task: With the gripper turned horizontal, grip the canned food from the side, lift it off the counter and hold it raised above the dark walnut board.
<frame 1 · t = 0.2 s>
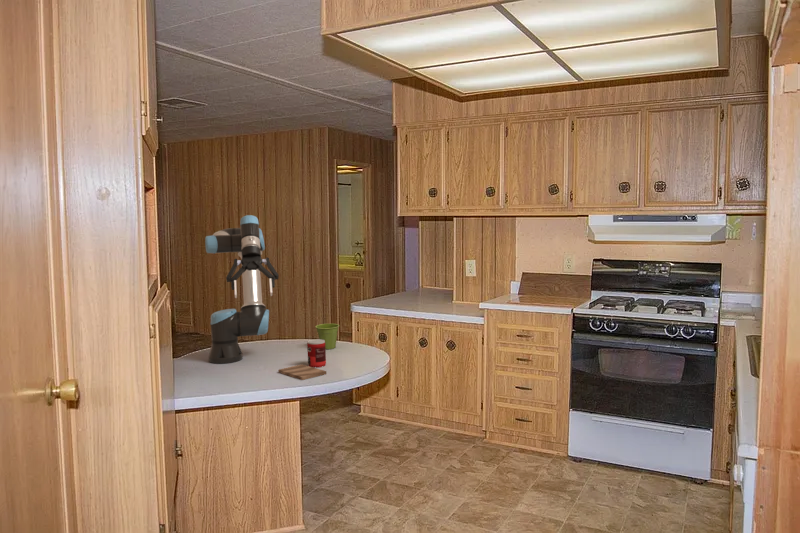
hand: (253, 295, 238), 36 cm above the table, tool tilted 35°, fingers open, 13 cm apart
canned food: (317, 365, 269), on the table
plant pot: (328, 348, 303), on the table
walnut board: (302, 373, 256), on the table
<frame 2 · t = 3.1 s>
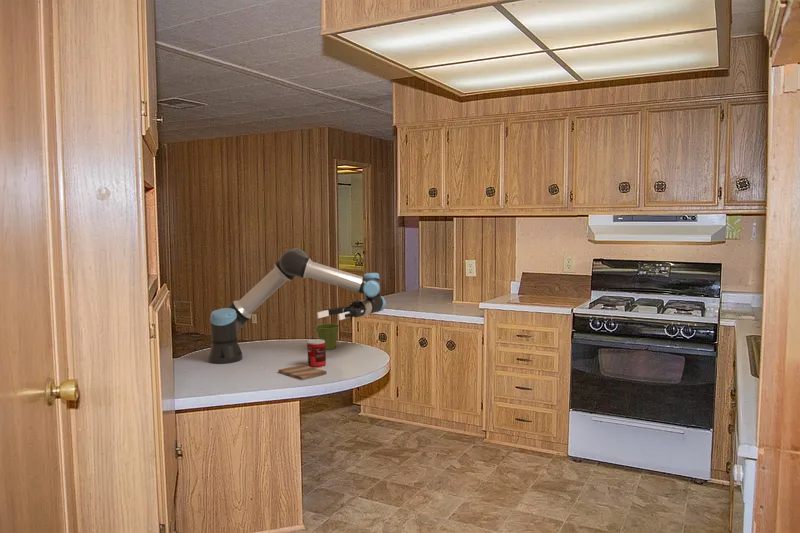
hand: (328, 316, 273), 21 cm above the table, tool horizontal, fingers open, 13 cm apart
nothing on the table moved.
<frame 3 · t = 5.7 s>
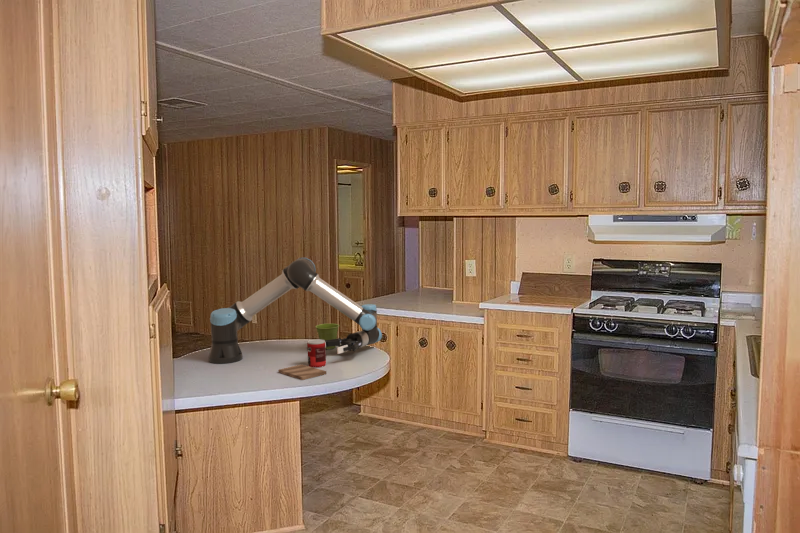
hand: (326, 349, 272), 6 cm above the table, tool horizontal, fingers open, 13 cm apart
nothing on the table moved.
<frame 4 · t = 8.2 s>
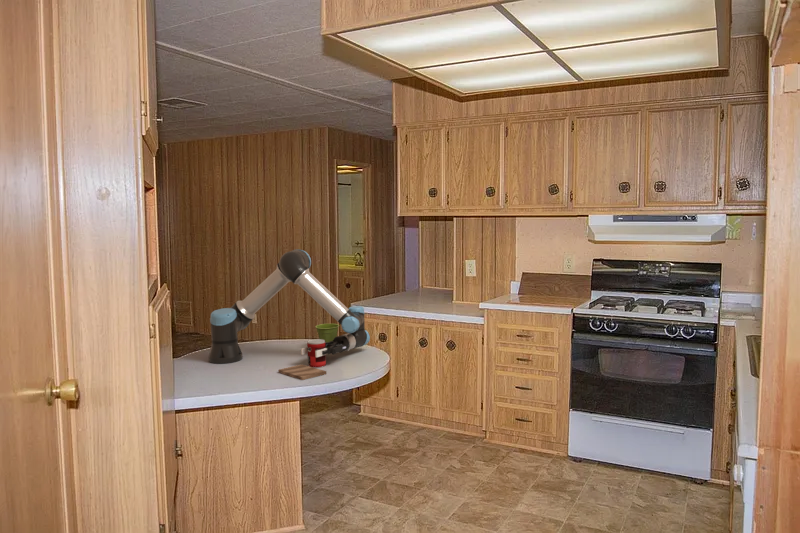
hand: (308, 353, 264), 7 cm above the table, tool horizontal, fingers closed on canned food, 8 cm apart
canned food: (317, 365, 269), on the table, touching gripper
everything else where it was.
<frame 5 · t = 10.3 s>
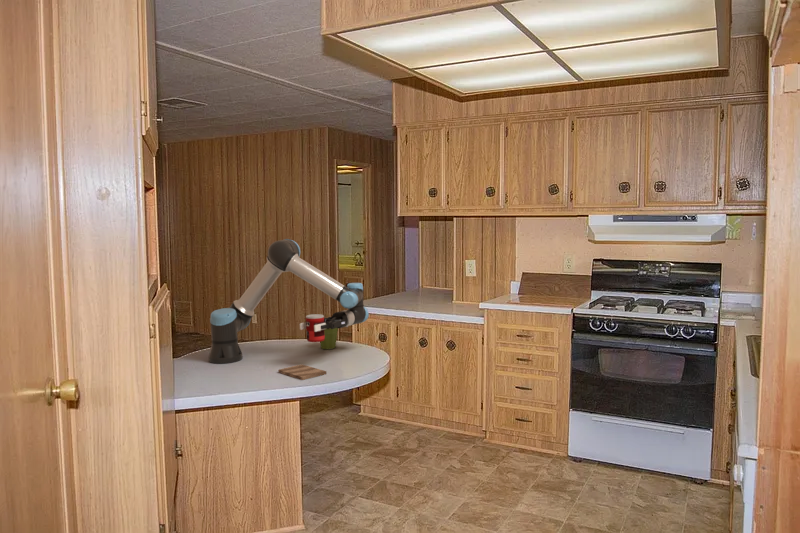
hand: (307, 327, 263), 18 cm above the table, tool horizontal, fingers closed on canned food, 8 cm apart
canned food: (315, 340, 267), point 11 cm above the table, touching gripper
everything else where it was.
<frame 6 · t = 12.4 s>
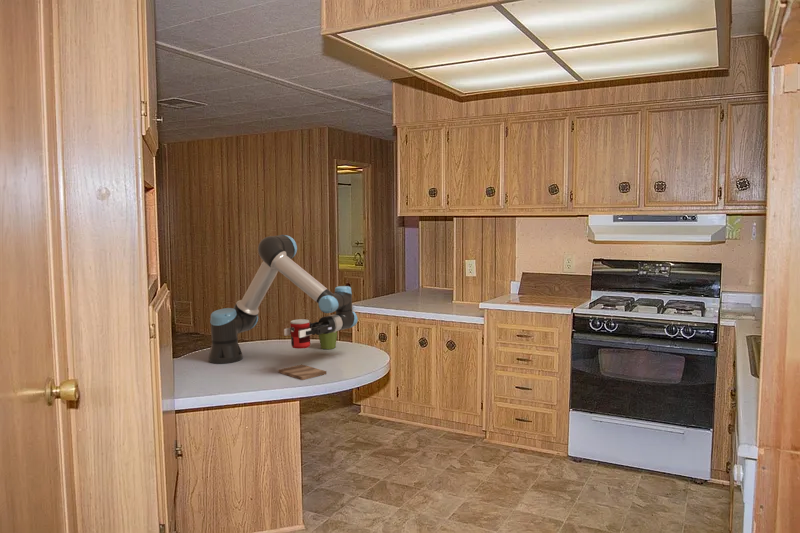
hand: (291, 333, 251), 18 cm above the table, tool horizontal, fingers closed on canned food, 8 cm apart
canned food: (301, 347, 255), point 11 cm above the table, touching gripper
everything else where it was.
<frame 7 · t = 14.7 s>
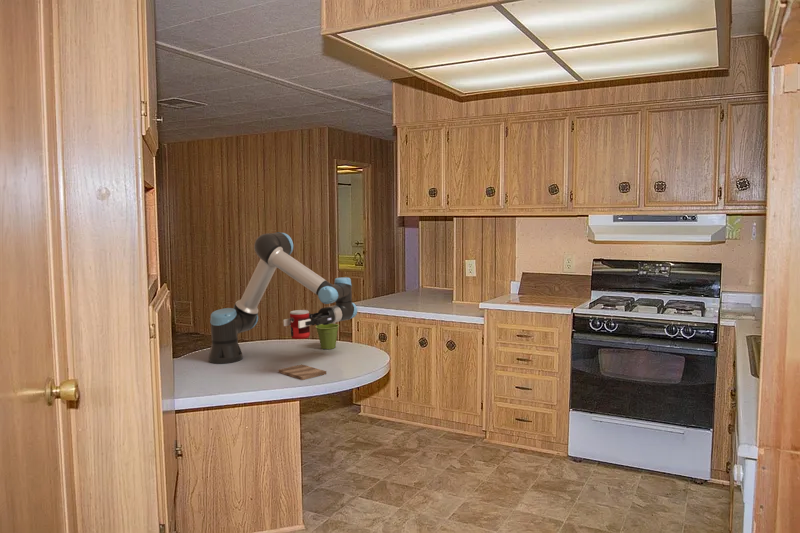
hand: (291, 323, 250), 22 cm above the table, tool horizontal, fingers closed on canned food, 8 cm apart
canned food: (300, 337, 255), point 15 cm above the table, touching gripper
everything else where it was.
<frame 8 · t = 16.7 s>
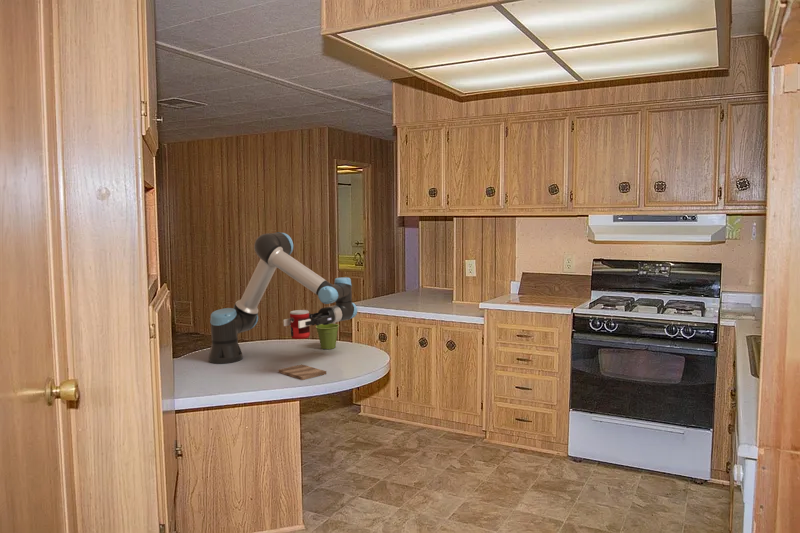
hand: (291, 323, 250), 22 cm above the table, tool horizontal, fingers closed on canned food, 8 cm apart
canned food: (300, 337, 255), point 15 cm above the table, touching gripper
everything else where it was.
at the end: the gripper is holding canned food; canned food inside the target area on the walnut board (0.0 cm from its centre), point 15.2 cm above the walnut board's base; canned food tilted 0° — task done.
